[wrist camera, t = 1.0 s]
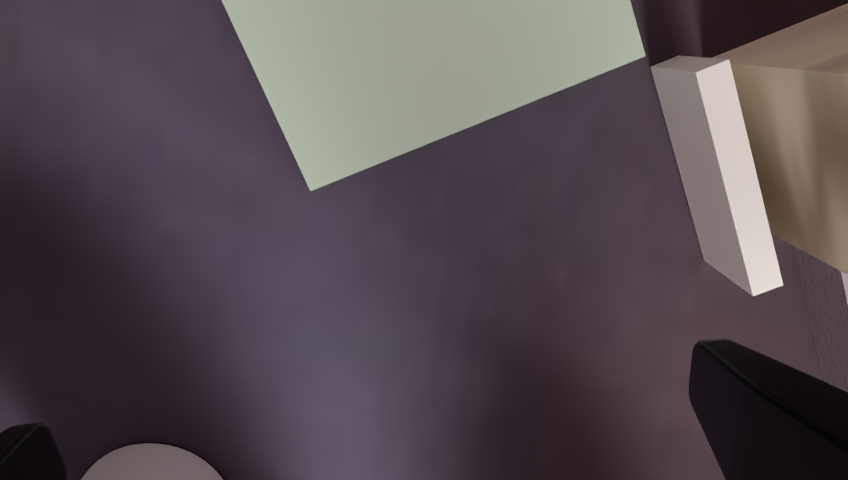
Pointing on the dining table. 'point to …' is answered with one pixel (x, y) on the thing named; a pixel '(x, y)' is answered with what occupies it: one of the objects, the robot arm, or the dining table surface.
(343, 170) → the mat
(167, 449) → the mug
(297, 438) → the dining table surface
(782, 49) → the block
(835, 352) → the bar
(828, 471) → the robot arm
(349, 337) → the dining table surface
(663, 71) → the channel
